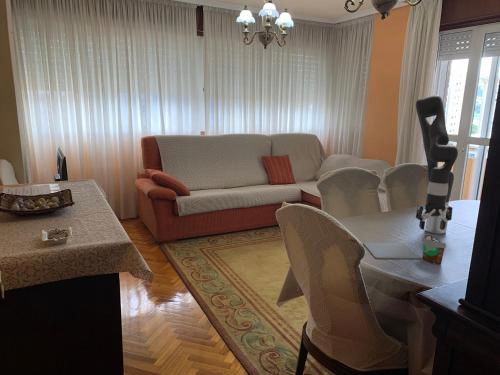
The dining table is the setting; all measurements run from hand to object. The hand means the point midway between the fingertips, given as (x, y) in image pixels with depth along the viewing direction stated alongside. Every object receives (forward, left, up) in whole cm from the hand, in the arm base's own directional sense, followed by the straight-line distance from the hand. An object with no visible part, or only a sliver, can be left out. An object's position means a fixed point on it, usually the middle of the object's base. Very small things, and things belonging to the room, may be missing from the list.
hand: (431, 229), depth 158 cm
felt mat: (+13, -9, -14) cm, 21 cm away
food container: (0, 0, -14) cm, 14 cm away
